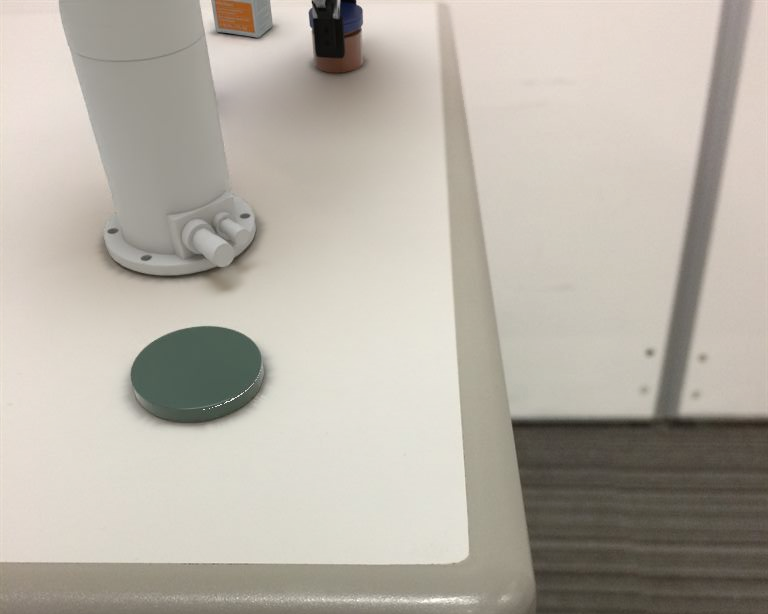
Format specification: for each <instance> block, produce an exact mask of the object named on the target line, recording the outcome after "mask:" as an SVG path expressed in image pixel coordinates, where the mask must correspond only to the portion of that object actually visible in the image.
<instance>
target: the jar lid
mask: <svg viewBox="0 0 768 614" xmlns="http://www.w3.org/2000/svg"><path fill="white" fill-rule="evenodd" d="M340 16H343V23H344V33H348V32H351V31H355V30H357V29H359V28H360V27H361V28H362V26H363V25H364V9H363V8H362V7H361V6H360V5H358V4H357V3H356V4H353V3H349V2H340ZM308 22H309V23H308V24H309V27H310V29H311V30H312V29H313V30H314V26H313V15H312V7H311V8H310V9H309V10H308Z"/></svg>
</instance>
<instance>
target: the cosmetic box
mask: <svg viewBox="0 0 768 614" xmlns="http://www.w3.org/2000/svg"><path fill="white" fill-rule="evenodd" d="M210 1H211V8H212V15H213V22H214V28H215V32H217V33H225V34H233V35H239V36H246V37H252V38H255V39H259V38H260V37H261V36H263V35H265V34H266V33H267V31H269V30H270V29H271V28H273V26H274V25H273V14H272V5H271V0H210Z"/></svg>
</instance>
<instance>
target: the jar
mask: <svg viewBox="0 0 768 614" xmlns="http://www.w3.org/2000/svg"><path fill="white" fill-rule="evenodd" d="M311 42H312V53H313V66H314V67H315V68H316V69H317V70H320V71H322V72H326V73H335V74H336V73H337V74H338V73H340V74H341V73H342V74H343V73H348V72H352V71H355V70H358V69H359V68H361V67H362V65H363V64H364V52H363V51H364V49H363V46H364V45H363V28H362V26H361V27H360V28H359V29H357V30H355V31H351V32H348V33H344V43H345V55H344V57H343V58H322V57H317V56H316V52H315V39H314V30H313V29H312V28H311Z"/></svg>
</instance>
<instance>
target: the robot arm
mask: <svg viewBox="0 0 768 614" xmlns="http://www.w3.org/2000/svg"><path fill="white" fill-rule="evenodd" d="M340 2H349V3H353V4H356V5H357V0H311V5H312V6H311V8H312V15H313V26H314V39H315V52H316V56H317V57H322V58H343V57H344V55H345V43H344V23H343V16H340ZM58 10H59V16H60V19H61V20H60V21H61V25H62V29H63V32H64V36H65V40H66V43H67V46H68V49H69V51H70V55H71V59H72V62H73V66H74V70H75V73H76V76H77V80H78V84H79V87H80V91H81V94H82V98H83V101H84V104H85V107H86V111H87V115H88V118H89V122H90V125H91V128H92V132H93V136H94V139H95V142H96V147H97V150H98V153H99V156H100V160H101V162H102V163H101V164H102V167H103V170H104V174H105V177H106V181H107V185H108V188H109V191H110V195H111V198H112V201H113V205H114V208H115V209H114V210H115V212H114V213H113V214H112V215H111V217H110V218H109V219H108V220H107V222H106V224H105V227H104V229H103V239H104V243H105V246H106V249H107V252H108V254H109V256H110V257H111V259H113V260H114V261H115V262H116V263H118V264H119V265H121V266H122V267H124V268H127V269H129V270H131V271H133V272H137V273H141V274H146V275H151V276H152V275H153V276H163V277H164V276H182V275H190V274H196V273H200V272H204V271H208V270H211V269H213V268H216V267H219V268H226V267H228V266H230V265H231V264H232V263H233V261H234V258H236V257H238V256H239V255H241V254H242V253H243V252H244V251H245V250H246V249H247V248H248V247H249V246H250V244H251V243H252V241H253V240H254V239H255V235H256V232H257V225H256V224H257V223H256V219H255V213H254V210H253V208H251V207H252V206H250V204H249V203H248V202H246V201H245V200H244V199H243V198H241V197H239V196H238V195H236V194H234V193H233V191H232V186H231V184H232V183H231V179H230V173H229V168H228V161H227V156H226V150H225V143H224V138H223V137H224V136H223V133H222V125H221V119H220V113H219V108H218V107H219V106H218V101H217V96H216V91H215V83H214V78H213V72H212V66H211V59H210V55H209V49H208V42H207V37H206V36H207V35H206V30H205V26H204V20H203V13H202V6H201V2H200V0H58Z"/></svg>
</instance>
